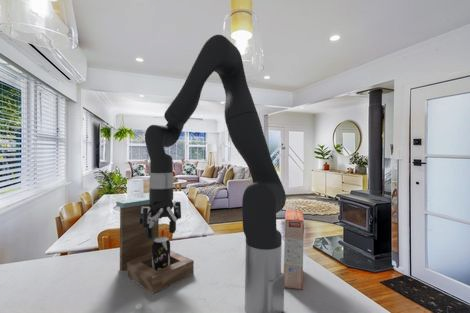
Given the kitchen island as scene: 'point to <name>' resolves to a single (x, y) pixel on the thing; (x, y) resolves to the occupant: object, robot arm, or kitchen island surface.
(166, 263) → the beverage can
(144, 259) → the socket block
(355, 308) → the kitchen island surface
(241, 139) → the robot arm
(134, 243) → the grey-capped wooden panel
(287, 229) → the cracker box
